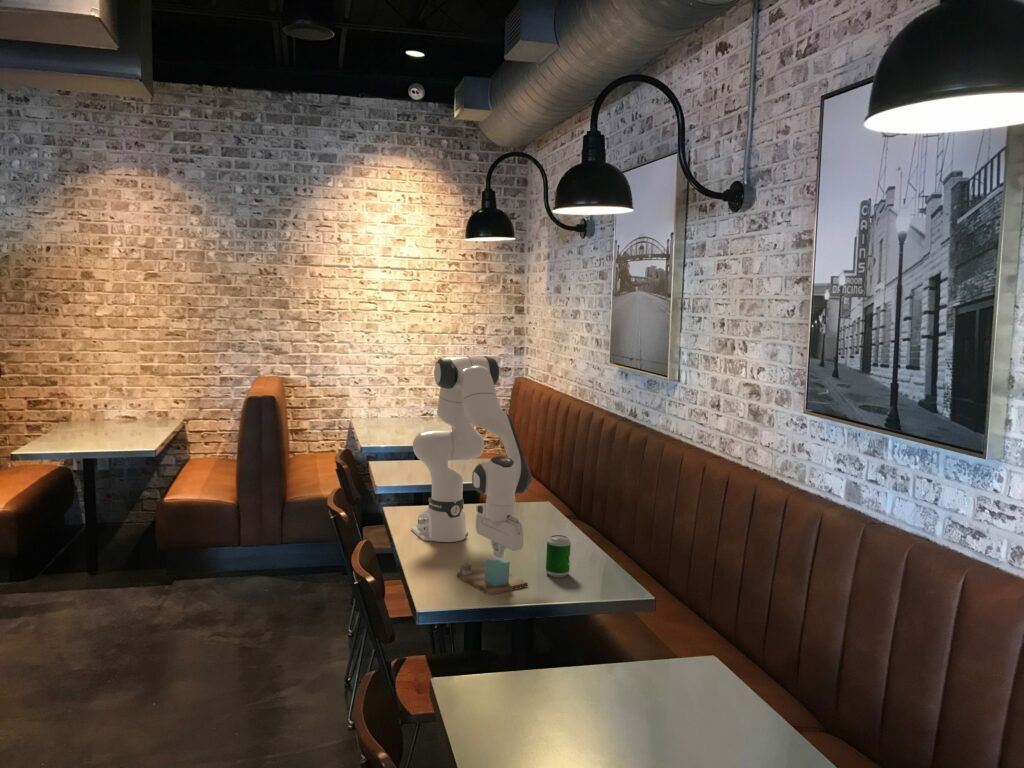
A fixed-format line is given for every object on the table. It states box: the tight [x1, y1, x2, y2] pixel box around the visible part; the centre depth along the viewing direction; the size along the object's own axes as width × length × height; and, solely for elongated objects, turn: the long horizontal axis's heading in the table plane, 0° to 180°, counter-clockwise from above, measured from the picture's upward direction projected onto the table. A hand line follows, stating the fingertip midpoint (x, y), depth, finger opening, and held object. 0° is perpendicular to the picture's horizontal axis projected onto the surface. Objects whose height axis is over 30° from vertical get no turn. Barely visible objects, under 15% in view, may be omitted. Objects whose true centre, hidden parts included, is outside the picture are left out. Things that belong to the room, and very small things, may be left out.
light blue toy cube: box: [484, 557, 511, 586], centre depth 243 cm, size 5×5×7 cm
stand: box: [456, 562, 529, 595], centre depth 247 cm, size 18×14×7 cm
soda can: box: [545, 534, 572, 578], centre depth 256 cm, size 8×8×12 cm
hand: (498, 556), depth 243 cm, fingers closed
